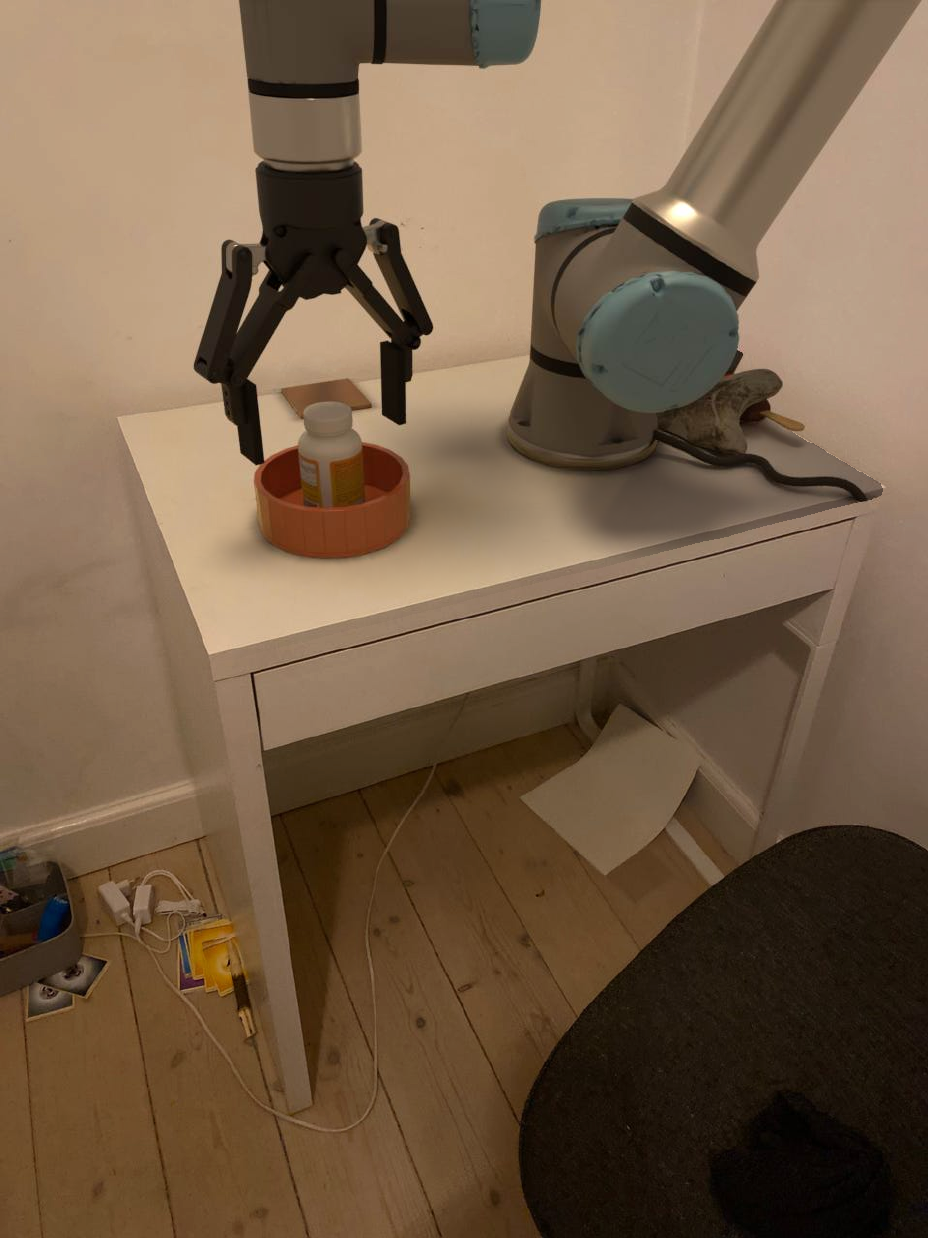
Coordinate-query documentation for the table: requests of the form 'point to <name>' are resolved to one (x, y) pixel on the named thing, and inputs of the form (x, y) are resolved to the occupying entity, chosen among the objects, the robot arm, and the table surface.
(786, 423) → the ice cream bar
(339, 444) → the supplement bottle
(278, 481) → the terracotta planter dish
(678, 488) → the table surface
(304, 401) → the coaster
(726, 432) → the fossil
